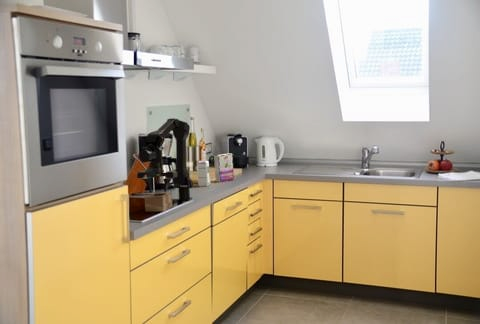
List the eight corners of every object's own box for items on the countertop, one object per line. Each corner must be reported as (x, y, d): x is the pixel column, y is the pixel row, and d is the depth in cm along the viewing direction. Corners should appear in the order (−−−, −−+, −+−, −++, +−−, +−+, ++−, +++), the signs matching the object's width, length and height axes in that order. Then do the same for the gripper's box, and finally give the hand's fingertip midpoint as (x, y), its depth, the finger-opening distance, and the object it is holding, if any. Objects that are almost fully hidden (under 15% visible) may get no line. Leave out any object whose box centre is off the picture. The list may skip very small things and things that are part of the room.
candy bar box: (229, 179, 371) (227, 153, 369) (234, 180, 367) (233, 153, 365) (214, 181, 364) (213, 155, 362) (220, 182, 360) (218, 155, 358)
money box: (155, 206, 290) (154, 192, 289) (172, 206, 287) (171, 192, 286) (145, 211, 279) (144, 196, 278) (163, 211, 277) (162, 196, 276)
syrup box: (207, 186, 347) (206, 161, 345) (198, 186, 348) (196, 161, 346) (210, 184, 352) (209, 160, 351) (200, 184, 353) (199, 160, 352)
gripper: (130, 162, 275) (132, 195, 277) (167, 161, 270) (169, 195, 272) (140, 159, 286) (142, 191, 288) (177, 158, 281) (178, 191, 283)
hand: (158, 192), depth 282 cm, fingers open, 7 cm apart
